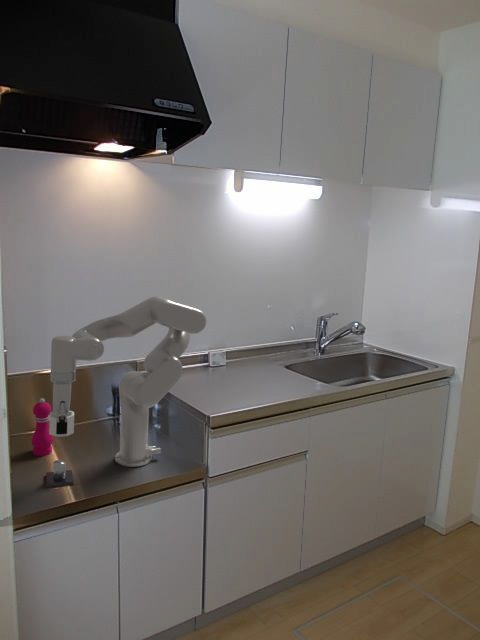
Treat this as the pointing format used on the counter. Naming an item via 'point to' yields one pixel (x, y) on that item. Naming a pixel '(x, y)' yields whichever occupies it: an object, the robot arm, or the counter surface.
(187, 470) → the counter surface
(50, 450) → the pepper mill
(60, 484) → the duct stub
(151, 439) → the counter surface
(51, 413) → the white hollow octagonal tube
